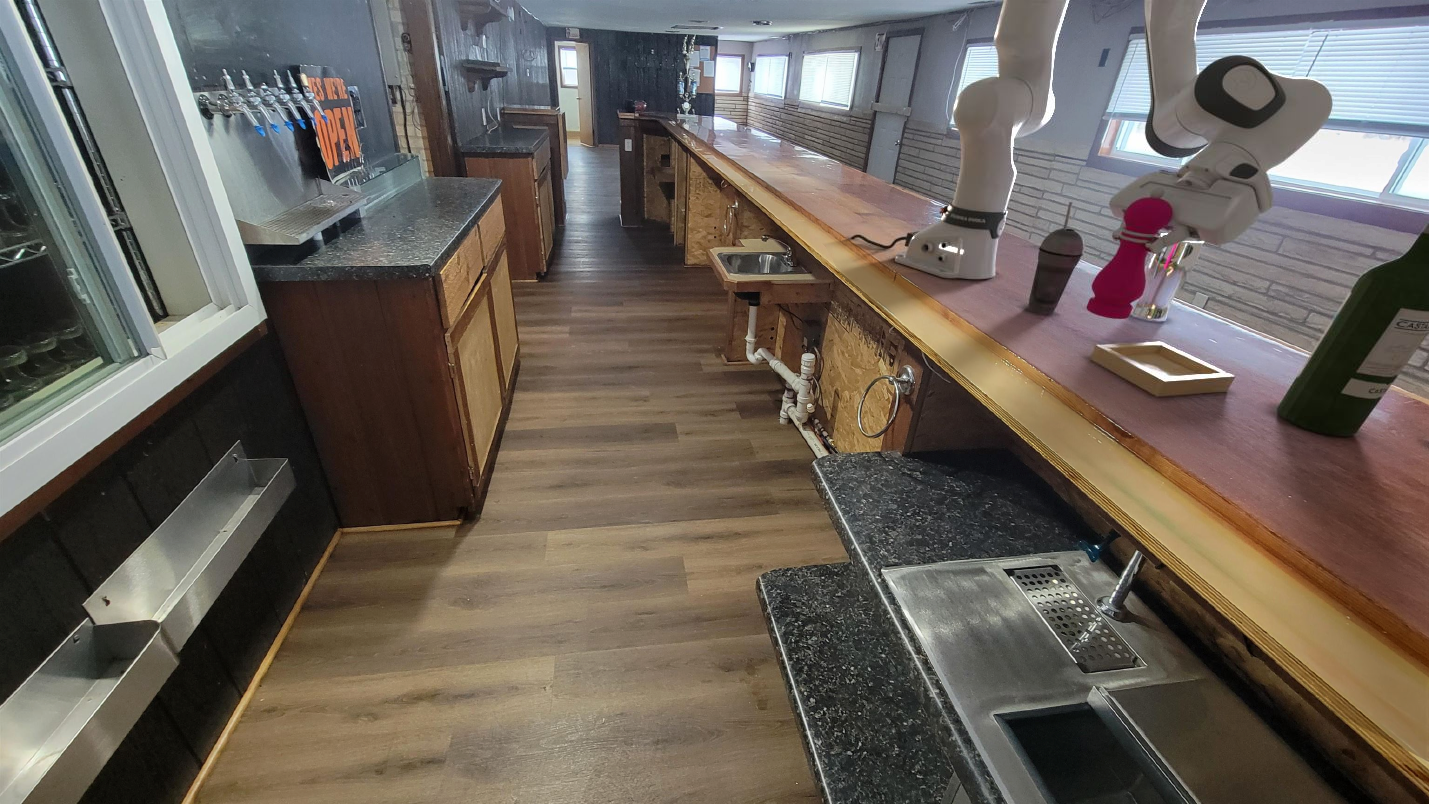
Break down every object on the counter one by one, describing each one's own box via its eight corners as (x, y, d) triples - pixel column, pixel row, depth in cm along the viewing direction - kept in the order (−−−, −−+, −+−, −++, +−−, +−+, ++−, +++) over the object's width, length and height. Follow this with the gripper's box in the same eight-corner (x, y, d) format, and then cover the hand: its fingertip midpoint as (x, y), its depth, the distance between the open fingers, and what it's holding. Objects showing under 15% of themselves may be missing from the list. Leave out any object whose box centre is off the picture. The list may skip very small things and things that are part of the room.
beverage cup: (1045, 319, 105) (1084, 208, 95) (1011, 307, 110) (1045, 200, 100) (1069, 314, 108) (1110, 206, 98) (1035, 302, 113) (1070, 198, 103)
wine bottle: (1344, 444, 70) (1527, 191, 55) (1265, 415, 76) (1412, 179, 61) (1363, 428, 74) (1538, 187, 59) (1287, 401, 80) (1429, 176, 65)
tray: (1089, 359, 90) (1095, 344, 89) (1153, 355, 92) (1160, 341, 91) (1157, 397, 79) (1165, 381, 78) (1227, 391, 82) (1235, 376, 81)
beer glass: (1155, 311, 112) (1190, 234, 104) (1176, 324, 105) (1215, 244, 98) (1118, 308, 112) (1150, 232, 105) (1137, 321, 106) (1173, 241, 99)
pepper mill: (1136, 313, 95) (1192, 188, 85) (1127, 324, 90) (1185, 193, 80) (1088, 301, 99) (1136, 181, 89) (1077, 311, 94) (1126, 185, 84)
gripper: (1148, 154, 93) (1076, 215, 96) (1278, 174, 76) (1185, 247, 79) (1158, 183, 96) (1088, 241, 99) (1285, 208, 79) (1196, 278, 82)
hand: (1132, 244), depth 89 cm, fingers closed on pepper mill, 5 cm apart
